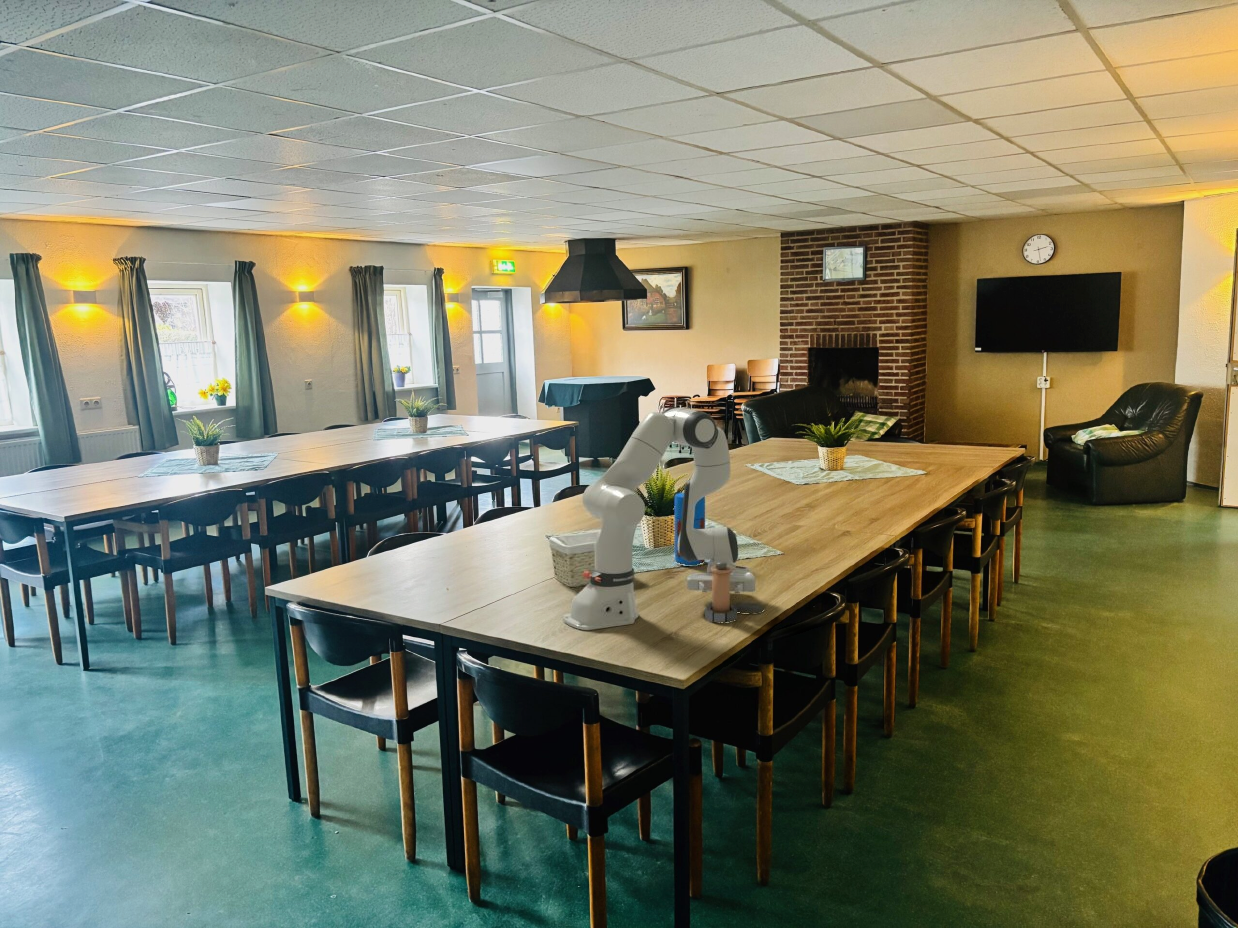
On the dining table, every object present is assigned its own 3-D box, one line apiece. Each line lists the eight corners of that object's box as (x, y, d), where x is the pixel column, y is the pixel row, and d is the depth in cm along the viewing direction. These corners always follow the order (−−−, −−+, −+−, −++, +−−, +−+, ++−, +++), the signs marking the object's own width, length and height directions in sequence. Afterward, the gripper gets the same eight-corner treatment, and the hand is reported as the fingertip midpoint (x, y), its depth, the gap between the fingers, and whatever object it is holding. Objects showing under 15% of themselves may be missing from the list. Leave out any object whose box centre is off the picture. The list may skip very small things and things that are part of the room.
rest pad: (746, 616, 257) (746, 614, 257) (724, 608, 265) (724, 606, 265) (771, 610, 262) (771, 608, 262) (749, 602, 271) (749, 600, 271)
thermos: (668, 563, 318) (668, 495, 315) (688, 557, 326) (688, 491, 322) (691, 568, 310) (691, 499, 307) (711, 562, 318) (711, 494, 314)
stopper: (719, 623, 252) (719, 566, 249) (706, 617, 257) (706, 562, 254) (735, 619, 255) (736, 563, 252) (722, 613, 260) (722, 559, 257)
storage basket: (567, 589, 287) (566, 545, 285) (548, 577, 302) (547, 535, 299) (631, 579, 298) (631, 537, 296) (610, 568, 312) (610, 528, 310)
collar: (718, 625, 249) (718, 615, 249) (699, 617, 257) (699, 607, 257) (743, 619, 254) (743, 609, 254) (723, 611, 262) (723, 601, 261)
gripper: (687, 566, 269) (684, 578, 255) (754, 567, 267) (756, 580, 253) (687, 586, 270) (684, 599, 256) (754, 587, 267) (755, 601, 254)
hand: (720, 589), depth 255 cm, fingers open, 8 cm apart
